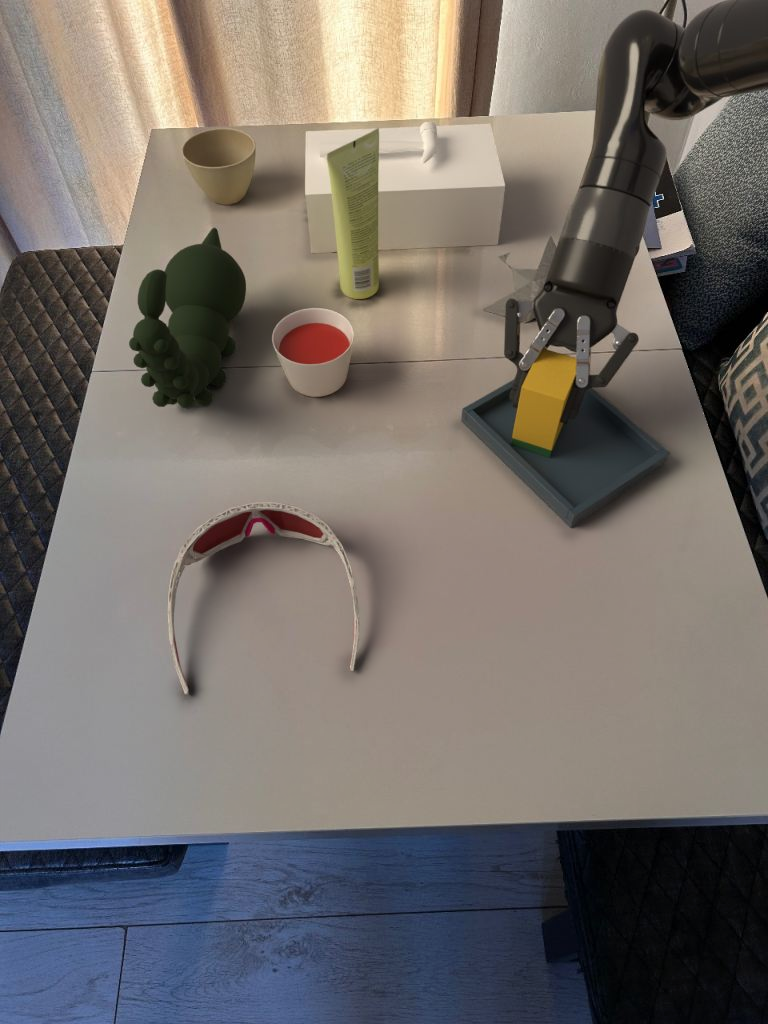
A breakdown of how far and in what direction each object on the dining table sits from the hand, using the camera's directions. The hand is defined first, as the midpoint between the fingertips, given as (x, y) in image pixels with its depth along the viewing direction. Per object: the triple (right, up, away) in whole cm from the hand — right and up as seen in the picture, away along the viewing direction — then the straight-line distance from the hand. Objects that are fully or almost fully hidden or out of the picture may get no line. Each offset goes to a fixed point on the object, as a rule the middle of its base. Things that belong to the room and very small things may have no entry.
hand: (540, 414), depth 78 cm
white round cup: (-24, +6, +11) cm, 27 cm away
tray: (+3, -2, +5) cm, 6 cm away
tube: (-19, +19, +20) cm, 33 cm away
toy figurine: (-37, +8, +13) cm, 40 cm away
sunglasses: (-27, -19, -5) cm, 34 cm away
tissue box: (-14, +31, +28) cm, 44 cm away
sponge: (+1, -1, +5) cm, 5 cm away
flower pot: (-38, +36, +32) cm, 61 cm away
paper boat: (+2, +17, +18) cm, 25 cm away
